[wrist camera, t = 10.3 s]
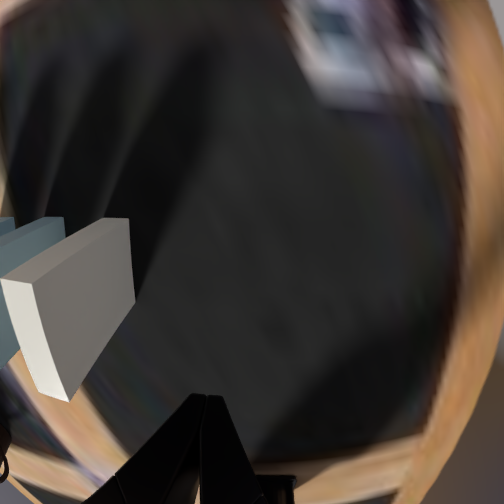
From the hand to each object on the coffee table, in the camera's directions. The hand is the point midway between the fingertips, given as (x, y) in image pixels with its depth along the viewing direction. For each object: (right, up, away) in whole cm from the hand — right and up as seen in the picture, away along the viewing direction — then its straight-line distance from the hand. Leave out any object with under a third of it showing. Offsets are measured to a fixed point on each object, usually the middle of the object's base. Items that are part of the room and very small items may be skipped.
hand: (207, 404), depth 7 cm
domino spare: (-6, +3, +9) cm, 11 cm away
